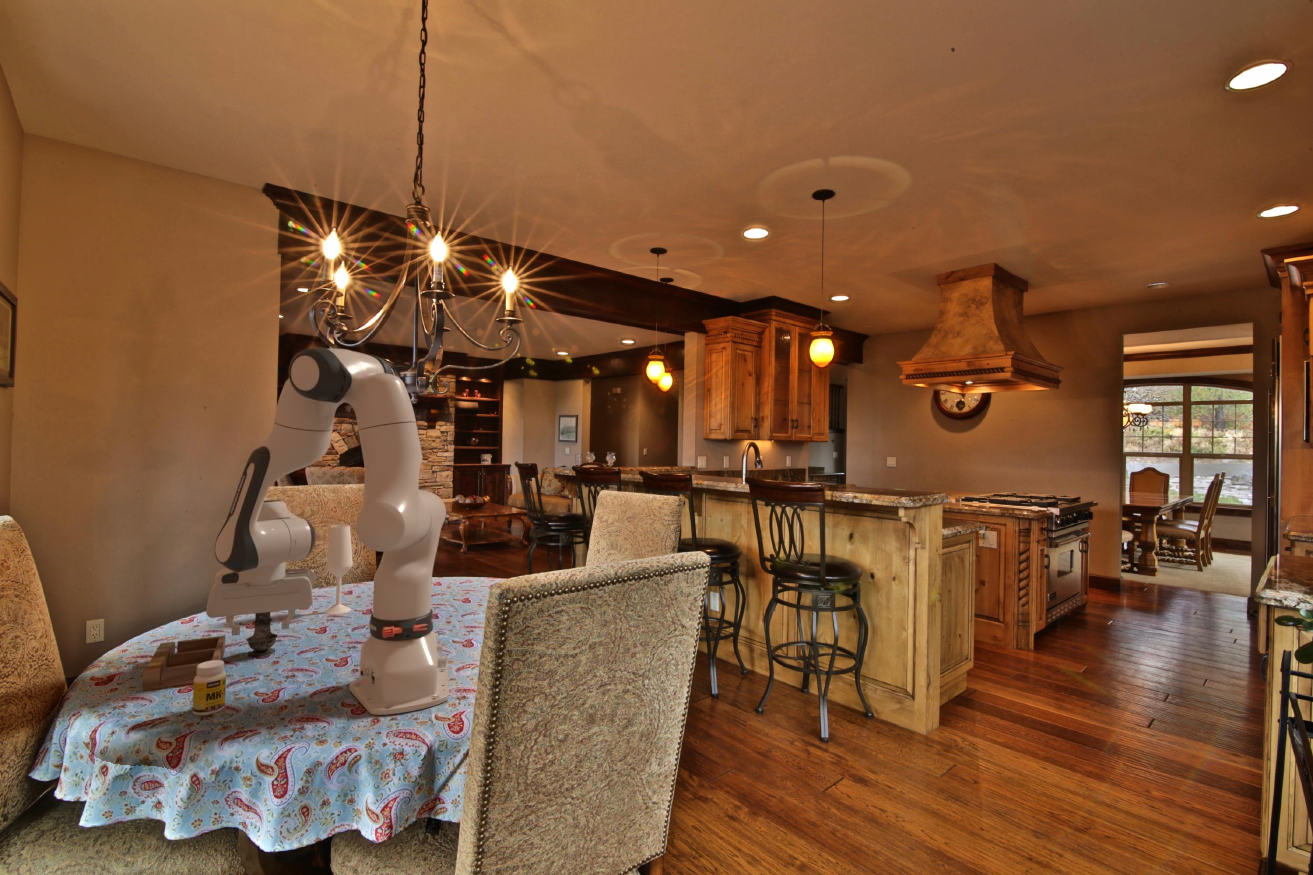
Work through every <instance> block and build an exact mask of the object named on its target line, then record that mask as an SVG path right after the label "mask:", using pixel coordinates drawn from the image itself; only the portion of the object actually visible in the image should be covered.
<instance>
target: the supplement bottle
mask: <svg viewBox="0 0 1313 875" xmlns="http://www.w3.org/2000/svg"><path fill="white" fill-rule="evenodd" d="M224 670H225V662H224V661H223V660H222V661H221V660H213V661H207V662H203V663H201V664H199V665H198V666H197V676H196V677H195V678H194V683H193V687H192V688H193V693H192V714H193V715H195V716H209V715H212V714H216V713H218V712H220V711H222V710H223V709H224V708H226V707H225V705H226V690H227V689H226V687H227V684H226V683H227V673H226V672H225V671H224Z"/></svg>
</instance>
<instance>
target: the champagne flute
mask: <svg viewBox="0 0 1313 875" xmlns="http://www.w3.org/2000/svg"><path fill="white" fill-rule="evenodd" d="M351 536H352V534H351V525H350V524H335V525H331V527H330V533H329V540H328V547H327V556H326V561H325V562H326V563H325V567H326V569H327V570H328V572H329V573H331V575H333V576H334V577H336V593H335V595H336V596H335V604H334V605H333V606H331V607H329V608H328V609H326V610H325V611H324V613H325V614H326V615H342V614H346V613H349V612H351V611H352V608H350V607H348V606H346V605H343V604H341V603H342V602H341V601H342V577H343V576H345V575H346V574H347V573H348V572H349V571H350V570H351V569H352V567H353V563H354V562H353V549H352V548H353V547H352V537H351Z"/></svg>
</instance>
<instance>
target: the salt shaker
mask: <svg viewBox="0 0 1313 875" xmlns="http://www.w3.org/2000/svg"><path fill="white" fill-rule="evenodd" d="M254 618H255V619H254V621H253V622H252V623H253V624H254V632H253V635H251V636H249V637H247V638H246V642H247V643H248V647H249V648H250V649H252V651H250V652H249V653H248V654H247V656H248V657H249V658H254V659H255V658H264V657H267V656H268V657H269V656H271V655H274V654H275V653H276V651H277V650H276V649H274V648H272V647H273V646H274V645H275V643H276V640H277V638H278V634H276V633H273V632H272V630H271V622H272V621H273V619H272V618H271V612H265V613H255V617H254Z"/></svg>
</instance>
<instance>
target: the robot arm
mask: <svg viewBox="0 0 1313 875" xmlns="http://www.w3.org/2000/svg"><path fill="white" fill-rule="evenodd" d="M342 404H349V405H350V406H351V408H352V409H353V411H354V413H355V416H356V418H355V419H356V423H357V429H358V434H359V441H360V448H361V453H362V459H363V464H364V487H363V489H364V490H363V500H362V506H361V510H360V512H359V514H358V516H357V519H356V521H355V522H356V523H355V531H356V532H355V533H356V536H357V538H358V540H359V541H360V542H361V544H363V546H364V547H366V548H368V549H370V550H372V551H376V552H382V553H383V554H382V556H381V560H380V562H379V566H378V568H377V570H376V572H374V573H375V574H374V577H373V592H372V593H373V595H372V597H373V598H372V599H373V600H372V613H371V614H370V619H369V633H370V635H369V637H368V638H367V639H366V640H365V641H364V642H363V643H362V644H361V646H360V659H359V660H360V661H359V676H358V678H357V679H355V680H353V681H351V682H350V683H349V687H348V690H349V691H350V692H351V693H352V694H353V696H354V697H355V698H356V699H357V700H358V701H359V703H360V704H361V705H362V706H363V707H364V709H366V710H367V712H368V713H369V714H371V715H379V716H382V715H385V716H387V715H394V714H401V713H402V714H403V713H408V712H414V711H418V710H422V709H423V710H424V709H426V708H430V707H435V706H436V705H439V704H442V703H444V702H446V701H448V700H449V699H450V693H449V692H450V691H449V690H450V689H449V688H450V687H449V672H448V667H447V656H446V655H441V656H440V655H439V656H438V653H440V652H443V644H438V640H439V634H438V633H437V632H435V631H434V614H433V613H434V612H433V609H432V607H431V606H432V605H431V604H432V583H433V573H434V572H433V571H434V565H435V559H436V554H437V551H438V546H439V540H440V536H441V531H442V528H443V525H444V522H445V520H446V516H447V509H446V508H447V507H446V505H445V503H444V501H443V500H442V498H441V497H440V496H438V495H437V494H436V493H434V492H431V491H427V490H424V489H420V488H419V486H420V482H419V481H420V479H419V478H420V471H421V466H422V463H423V453H422V447H421V442H420V437H419V430H418V425H417V419H416V416H415V411H414V407H413V404H412V402H411V398H410V395H409V392H408V390H407V388H406V385H405V383H404V381H403V380H402V379H401V378H400V377H399V376H396V375H394V372H393V369H392V367H391V366H390V364H389V363H388V362H387V361H386V360H384V359H382V358H381V357H379V356H377V355H374V354H371V353H362V352H358V351H354V350H350V349H345V348H327V347H326V348H325V347H318V346H317V347H309V348H305V349H302V350H300V351H298V352H297V353H296V354H294V356H293V357H292V359H291V360H290V363H289V367H288V378H287V380H285V382H284V385H283V387H282V390H281V393H280V396H279V398H278V402H277V406H276V409H275V415H274V419H273V425H272V429H271V431H270V434H269V435H268V436H267V438H266V440H265V441H264V442H263V444H262V445H260V447H258V448H256V449H254V450H253V451H252V452H251V454H250V455H249V458H248V459H247V462H246V464H245V466H244V469H243V472H242V474H241V477H240V480H239V483H238V484H237V485H238V486H237V488H236V492H235V495H234V497H233V500H232V503H231V505H230V509H229V511H228V514H227V517H226V519H225V522H224V523H223V525H222V527H221V529H220V531H219V533H218V535H217V536H216V539H215V542H214V555H215V556H214V557H215V558H216V560H217V562H218V563H219V564H221V566H223V567H224V568H222V569H220V570H218V571H217V572H216V573H215V576H214V584H213V586H212V587H211V589H210V592H209V595H208V599H207V602H206V603H207V605H206V615H207V617H209V618H210V619H214V618H215V619H217V618H223V617H224V618H225V622H226V623H227V625H228V626H229V628H230V629H231V636H239V635H240V634H241V625H240V624H237V625H236V623H235V622H234V619H235V617H236V616H243V615H246V616H247V615H254V614H255V613H265V612H270V613H273V612H282V611H288V612H287V614H288V615H287V617H286V619H284V620H281V630H282V631H283V630H290V622H291V621H292V619H293V618H294V616H295V615H296V610H303V609H309V608H310V607H311V606H313V604H314V595H313V587H312V586H314V585H315V582H316V573H315V571H314V570H312V569H309V568H308V567H302V568H287V563H288V562H294V561H295V562H296V561H299V560H302V559H305V558H307V557H308V556H309V555H310V554H311V552H313V550H314V548H315V545H316V541H317V540H316V539H317V538H316V537H317V534H316V529H315V527H314V526H313V524H312V523H311V521H309V520H307V519H305V518H303V517H299V516H298V515H295V514H294V513H292V512H291V511H290V510H289V508H288V506H287V503H286V501H284V500H281V499H267V500H265V498H266V497H267V493H268V491H269V489H270V487H271V486H272V485H273V484H274V483H276V481H278V480H279V479H281V478H282V477H284V476H286V475H289V474H291V473H293V472H295V471H296V472H297V471H298V470H301V469H304V468H307V467H309V466H312V465H313V464H316V463H317V462H318V461H320V460H321V459H322V458H323V457H325V455H326V454H327V452H328V450H329V448H330V446H331V441H332V436H333V430H334V429H333V428H334V423H335V415H336V411H337V409H338V407H339V406H340V405H342Z"/></svg>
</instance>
